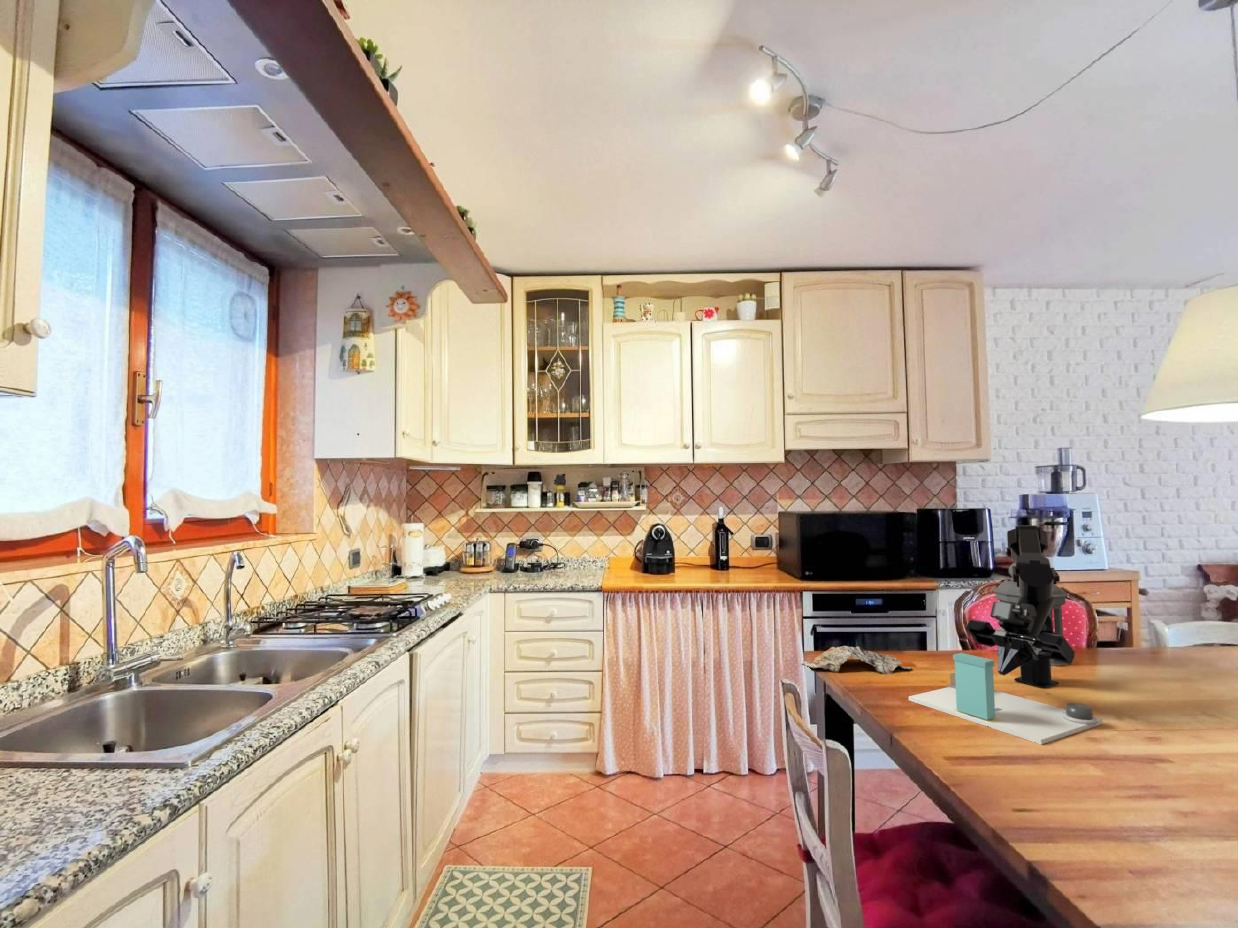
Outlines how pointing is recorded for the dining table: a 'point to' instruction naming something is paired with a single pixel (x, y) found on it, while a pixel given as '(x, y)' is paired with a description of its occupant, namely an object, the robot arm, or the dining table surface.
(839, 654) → the rock
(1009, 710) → the console
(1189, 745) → the dining table surface
